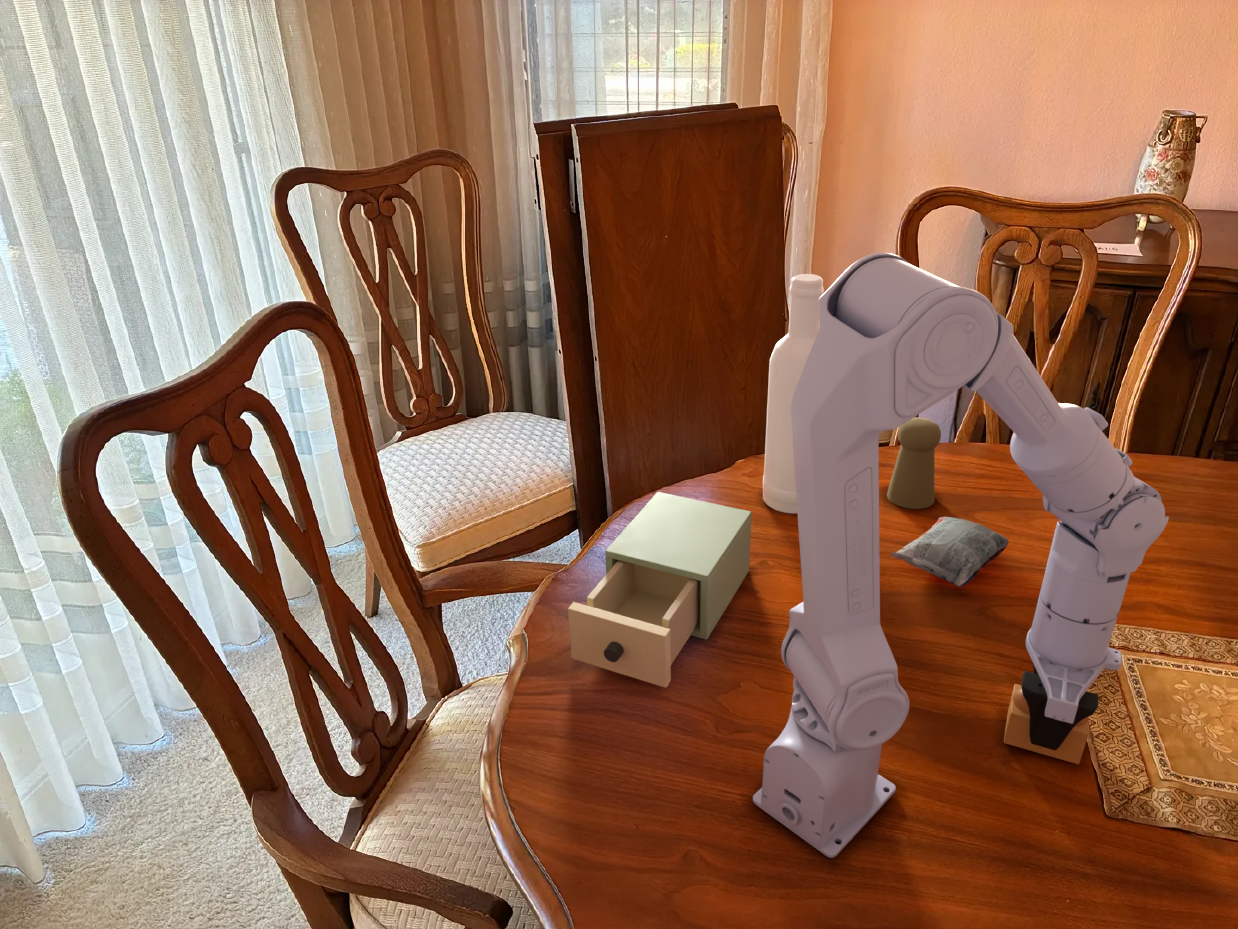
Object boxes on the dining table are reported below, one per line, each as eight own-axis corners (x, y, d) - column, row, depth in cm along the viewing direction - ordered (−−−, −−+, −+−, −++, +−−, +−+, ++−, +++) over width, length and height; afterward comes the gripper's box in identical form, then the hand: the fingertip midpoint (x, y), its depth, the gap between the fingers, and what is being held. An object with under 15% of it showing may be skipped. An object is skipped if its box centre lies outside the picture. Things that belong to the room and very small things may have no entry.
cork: (937, 510, 110) (949, 433, 105) (888, 507, 111) (898, 431, 106) (931, 487, 115) (943, 413, 110) (885, 484, 117) (894, 410, 111)
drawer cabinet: (706, 640, 89) (707, 576, 86) (608, 612, 94) (604, 550, 90) (749, 570, 100) (751, 511, 96) (658, 548, 105) (657, 491, 101)
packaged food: (888, 571, 99) (894, 535, 96) (940, 531, 106) (946, 496, 104) (960, 604, 93) (967, 567, 91) (1009, 559, 100) (1017, 523, 98)
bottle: (751, 503, 113) (760, 281, 99) (778, 479, 119) (791, 265, 105) (806, 521, 109) (825, 291, 95) (832, 495, 115) (853, 273, 100)
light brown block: (1080, 733, 76) (1092, 690, 74) (1079, 765, 73) (1092, 722, 71) (1007, 713, 79) (1017, 671, 76) (1003, 743, 76) (1013, 700, 73)
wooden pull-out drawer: (661, 696, 81) (660, 644, 78) (565, 666, 85) (561, 615, 82) (712, 613, 92) (713, 565, 89) (625, 590, 96) (624, 543, 93)
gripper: (1138, 672, 62) (1095, 803, 68) (1133, 565, 73) (1096, 687, 79) (1031, 646, 64) (999, 774, 71) (1042, 547, 76) (1014, 665, 82)
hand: (1045, 726), depth 75 cm, fingers closed on light brown block, 4 cm apart
